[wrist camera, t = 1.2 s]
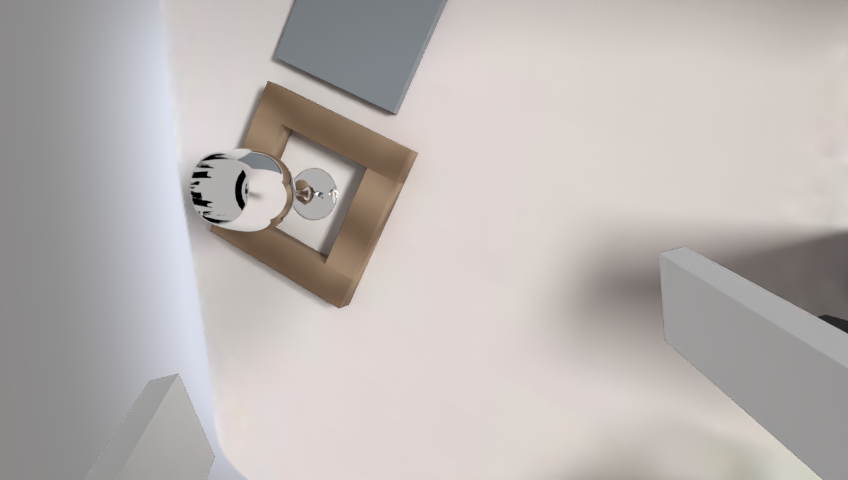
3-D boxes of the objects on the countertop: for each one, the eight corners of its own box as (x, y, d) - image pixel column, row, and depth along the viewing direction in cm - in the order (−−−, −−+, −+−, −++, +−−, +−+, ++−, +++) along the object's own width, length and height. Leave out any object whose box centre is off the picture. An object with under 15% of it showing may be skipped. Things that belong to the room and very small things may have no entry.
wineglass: (275, 179, 46) (169, 169, 34) (327, 148, 44) (234, 126, 32) (301, 238, 45) (203, 248, 34) (355, 209, 43) (271, 209, 32)
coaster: (333, -81, 43) (329, -86, 42) (461, -33, 40) (458, -37, 39) (279, 59, 45) (274, 56, 44) (396, 114, 42) (393, 112, 41)
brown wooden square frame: (280, 85, 45) (267, 80, 43) (417, 153, 41) (410, 150, 40) (223, 229, 48) (210, 230, 46) (348, 304, 44) (339, 308, 42)
